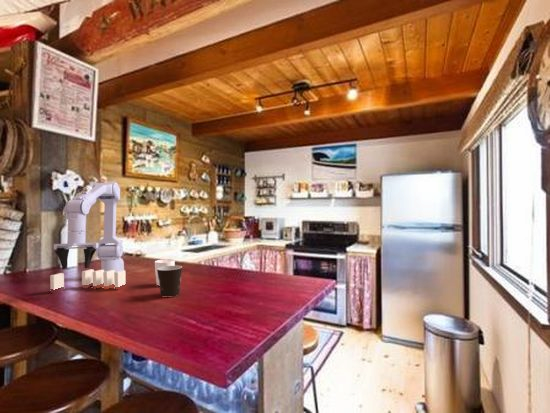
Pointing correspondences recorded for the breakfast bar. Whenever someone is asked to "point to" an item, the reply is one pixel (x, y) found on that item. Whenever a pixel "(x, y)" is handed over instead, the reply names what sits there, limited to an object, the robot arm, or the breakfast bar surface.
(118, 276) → the domino
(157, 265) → the white cup
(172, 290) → the coffee mug
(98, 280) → the domino
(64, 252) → the robot arm
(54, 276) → the domino
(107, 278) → the domino
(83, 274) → the domino
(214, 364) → the breakfast bar surface
